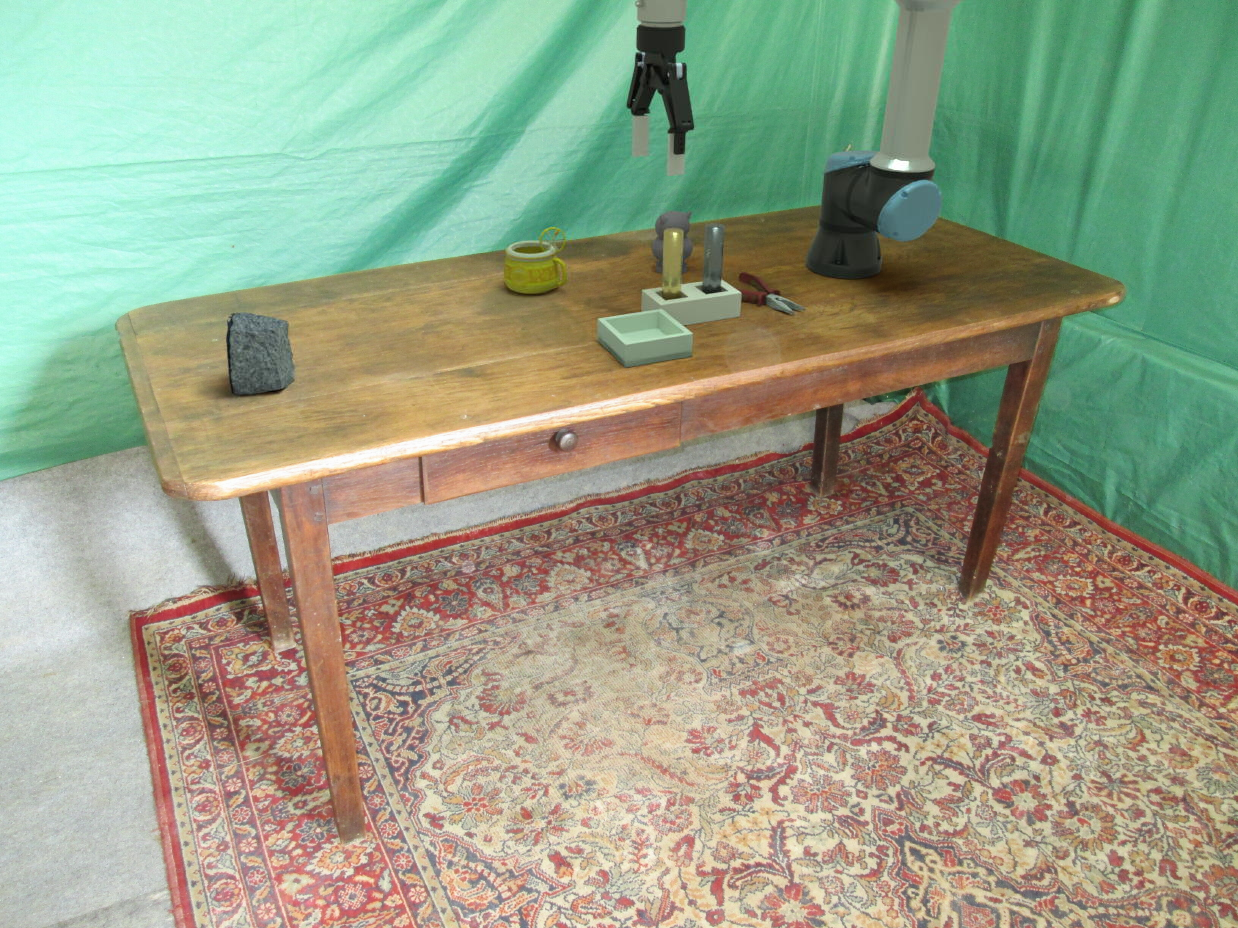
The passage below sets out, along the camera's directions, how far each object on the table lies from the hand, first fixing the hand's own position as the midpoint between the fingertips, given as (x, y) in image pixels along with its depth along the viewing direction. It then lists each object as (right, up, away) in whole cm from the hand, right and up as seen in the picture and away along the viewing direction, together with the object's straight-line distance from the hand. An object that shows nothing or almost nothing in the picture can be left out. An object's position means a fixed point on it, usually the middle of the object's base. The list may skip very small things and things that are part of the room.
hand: (657, 165), depth 161 cm
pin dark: (+10, -21, +19) cm, 30 cm away
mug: (-22, -15, +29) cm, 40 cm away
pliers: (+18, -18, +25) cm, 36 cm away
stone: (-61, -37, -8) cm, 72 cm away
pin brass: (+3, -23, +16) cm, 28 cm away
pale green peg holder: (+7, -22, +18) cm, 29 cm away
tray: (-2, -29, +5) cm, 30 cm away
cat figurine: (+4, -10, +39) cm, 41 cm away
